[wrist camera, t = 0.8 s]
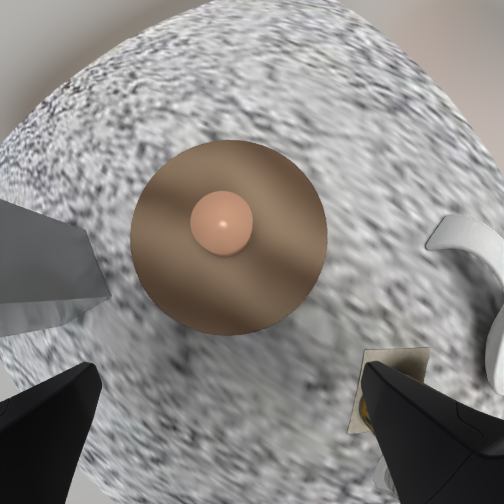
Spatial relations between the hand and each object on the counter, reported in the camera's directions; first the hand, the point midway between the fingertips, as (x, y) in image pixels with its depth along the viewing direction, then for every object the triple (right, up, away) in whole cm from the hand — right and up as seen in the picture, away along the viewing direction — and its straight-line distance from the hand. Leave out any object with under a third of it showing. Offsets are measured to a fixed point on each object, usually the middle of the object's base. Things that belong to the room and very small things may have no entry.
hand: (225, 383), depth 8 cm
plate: (-1, +6, +14) cm, 16 cm away
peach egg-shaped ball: (-1, +6, +14) cm, 15 cm away
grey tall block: (-16, +2, +14) cm, 21 cm away
